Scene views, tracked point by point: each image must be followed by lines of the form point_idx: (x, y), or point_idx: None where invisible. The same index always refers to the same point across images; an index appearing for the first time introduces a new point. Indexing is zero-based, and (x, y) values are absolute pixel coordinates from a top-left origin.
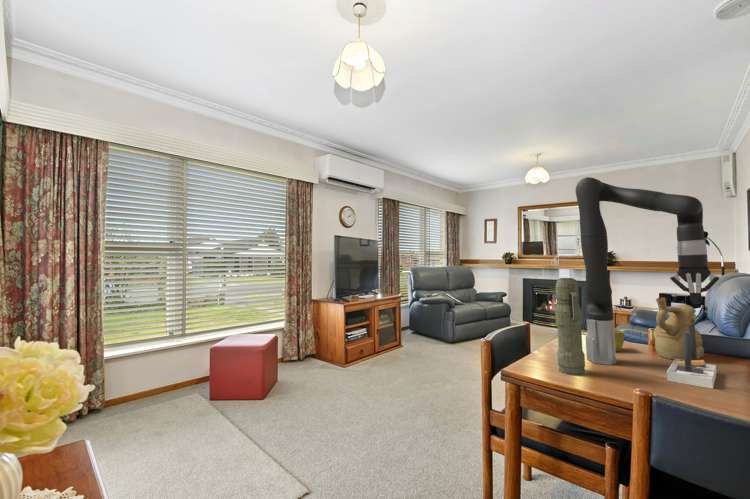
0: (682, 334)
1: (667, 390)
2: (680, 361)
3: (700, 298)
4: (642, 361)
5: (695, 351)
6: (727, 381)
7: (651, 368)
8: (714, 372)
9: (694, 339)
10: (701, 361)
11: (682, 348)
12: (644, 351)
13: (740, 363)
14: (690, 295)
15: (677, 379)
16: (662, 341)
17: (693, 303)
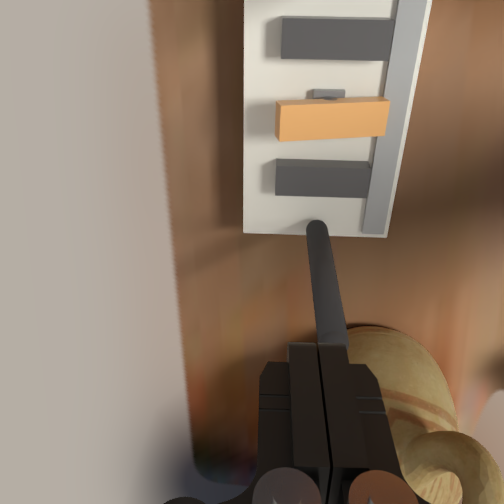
0: None
1: None
2: (374, 123)
3: (267, 405)
4: (499, 239)
5: (312, 246)
6: (207, 121)
7: (475, 140)
8: (244, 119)
9: (317, 283)
10: (288, 106)
11: (356, 360)
12: (470, 390)
13: (193, 388)
14: (386, 443)
15: None
16: (432, 386)
17: (341, 344)
